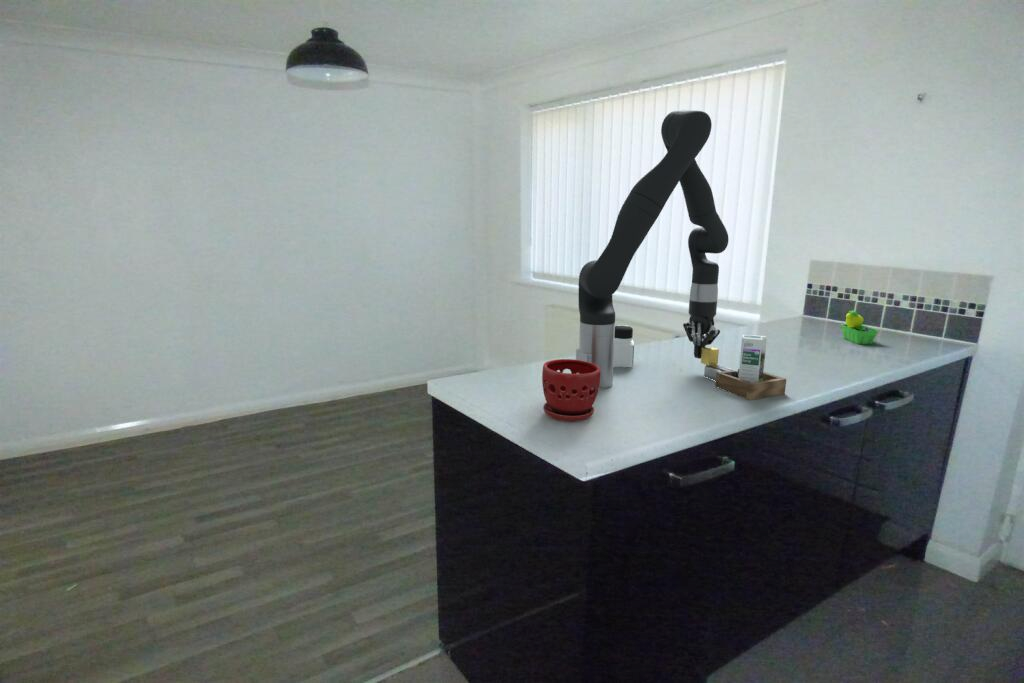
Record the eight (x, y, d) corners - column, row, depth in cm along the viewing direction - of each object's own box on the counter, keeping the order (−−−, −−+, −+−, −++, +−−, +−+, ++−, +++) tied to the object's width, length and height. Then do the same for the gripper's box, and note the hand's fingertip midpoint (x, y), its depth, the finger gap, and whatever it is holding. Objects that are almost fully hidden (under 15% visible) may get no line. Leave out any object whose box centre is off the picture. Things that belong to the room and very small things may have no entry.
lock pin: (727, 380, 149) (730, 356, 148) (700, 370, 159) (702, 347, 157) (736, 379, 151) (739, 355, 149) (708, 369, 160) (710, 346, 159)
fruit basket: (878, 344, 195) (882, 313, 192) (852, 344, 195) (857, 313, 192) (858, 337, 206) (863, 307, 203) (834, 337, 206) (838, 307, 203)
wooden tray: (750, 400, 137) (751, 384, 136) (715, 386, 148) (716, 372, 147) (784, 393, 142) (786, 379, 141) (748, 381, 153) (749, 367, 152)
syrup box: (737, 392, 143) (742, 337, 140) (737, 385, 149) (742, 333, 146) (761, 394, 141) (767, 339, 138) (760, 388, 147) (766, 334, 143)
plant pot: (558, 429, 119) (559, 376, 116) (532, 410, 131) (532, 361, 128) (610, 420, 124) (612, 369, 121) (580, 402, 136) (581, 355, 133)
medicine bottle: (633, 368, 166) (634, 329, 163) (608, 366, 167) (610, 328, 165) (632, 362, 173) (634, 324, 170) (609, 360, 174) (611, 323, 171)
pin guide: (724, 385, 149) (725, 373, 149) (703, 377, 157) (704, 366, 156) (738, 382, 151) (739, 371, 151) (717, 375, 158) (718, 364, 158)
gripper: (731, 301, 153) (725, 361, 157) (697, 295, 165) (692, 351, 169) (710, 303, 150) (705, 364, 154) (677, 296, 162) (673, 354, 166)
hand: (698, 357), depth 161 cm, fingers closed
